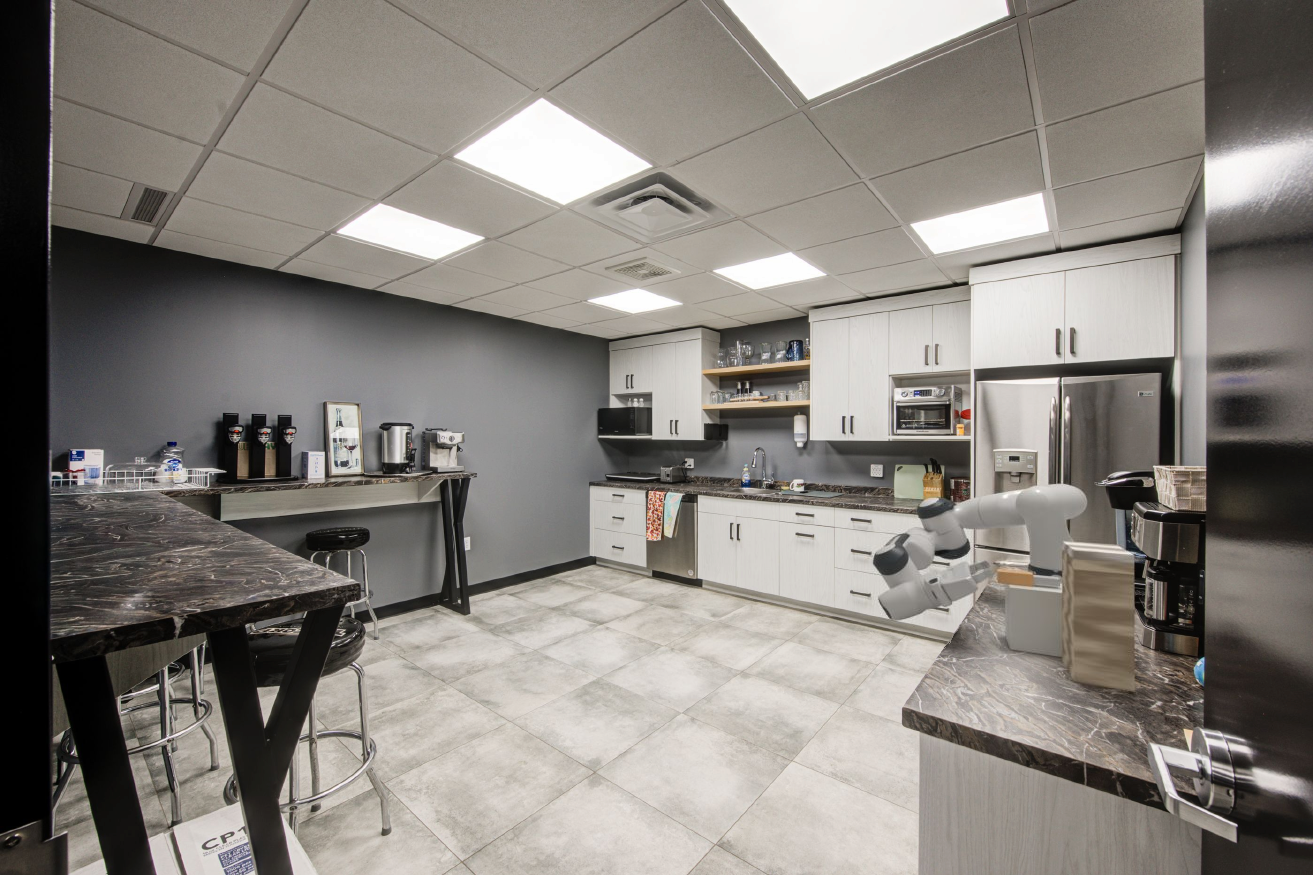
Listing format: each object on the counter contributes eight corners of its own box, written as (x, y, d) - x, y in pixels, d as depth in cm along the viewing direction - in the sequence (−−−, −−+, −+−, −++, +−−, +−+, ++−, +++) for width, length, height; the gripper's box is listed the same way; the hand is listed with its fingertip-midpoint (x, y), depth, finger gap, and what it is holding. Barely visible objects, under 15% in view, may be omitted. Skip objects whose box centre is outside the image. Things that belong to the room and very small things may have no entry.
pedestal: (1005, 636, 143) (1005, 578, 143) (1070, 645, 136) (1070, 584, 136) (1010, 649, 134) (1010, 587, 134) (1080, 659, 127) (1080, 594, 127)
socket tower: (1062, 661, 126) (1062, 541, 127) (1116, 669, 122) (1116, 544, 122) (1074, 682, 116) (1074, 550, 116) (1134, 692, 111) (1134, 554, 111)
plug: (996, 580, 140) (996, 568, 140) (1057, 586, 135) (1057, 574, 135) (998, 583, 138) (998, 571, 138) (1060, 589, 132) (1060, 577, 132)
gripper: (944, 588, 154) (993, 569, 148) (946, 609, 136) (1001, 588, 130) (931, 568, 155) (980, 548, 150) (932, 586, 137) (986, 564, 132)
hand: (990, 567), depth 140 cm, fingers open, 8 cm apart
